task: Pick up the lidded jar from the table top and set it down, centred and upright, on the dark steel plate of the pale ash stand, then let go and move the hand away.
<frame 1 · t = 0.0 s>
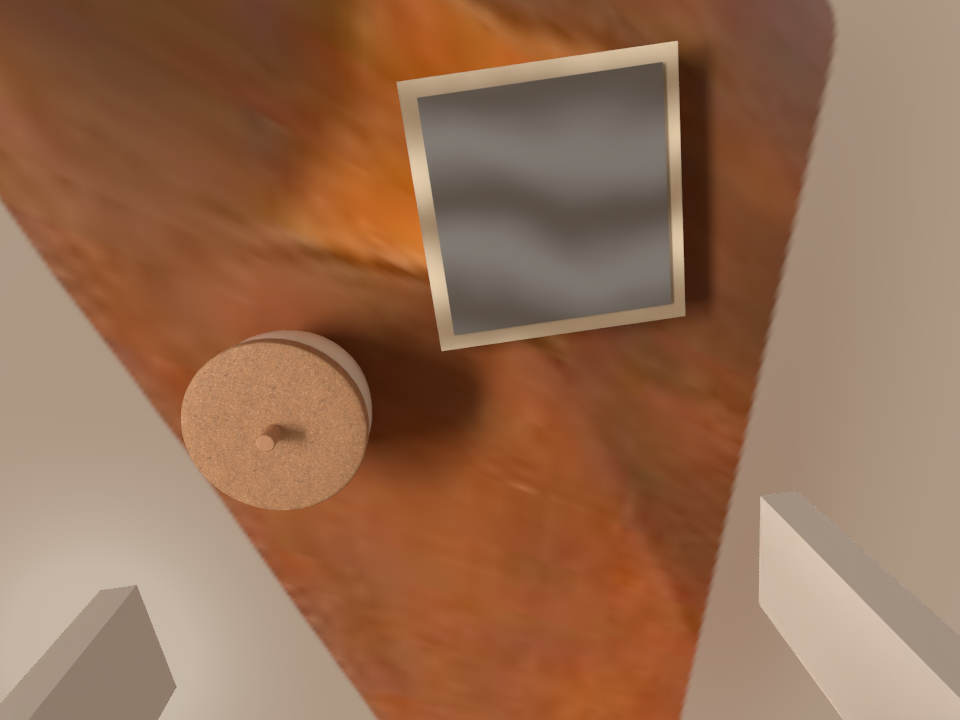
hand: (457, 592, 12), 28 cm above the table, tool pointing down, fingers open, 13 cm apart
lidded jar: (309, 384, 40), on the table
stand: (543, 205, 37), on the table
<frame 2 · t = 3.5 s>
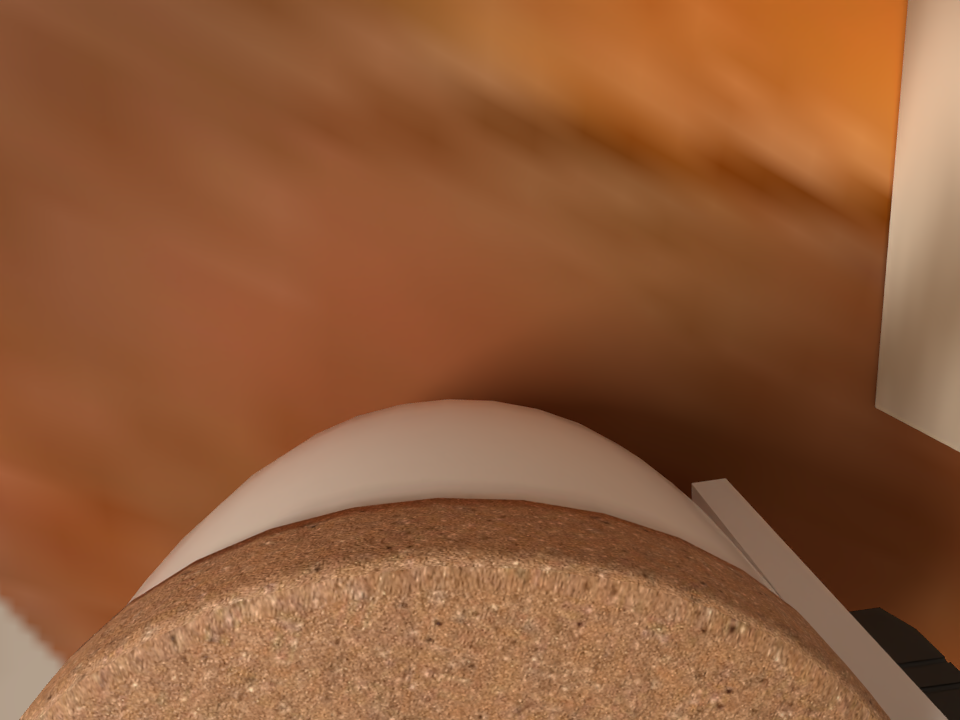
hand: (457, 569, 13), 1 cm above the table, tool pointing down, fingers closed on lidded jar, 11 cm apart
lidded jar: (458, 537, 14), on the table, touching gripper
when the fingers open (6 cm above the table, at t = 10.3 s): lidded jar drops 2 cm, resting on stand.
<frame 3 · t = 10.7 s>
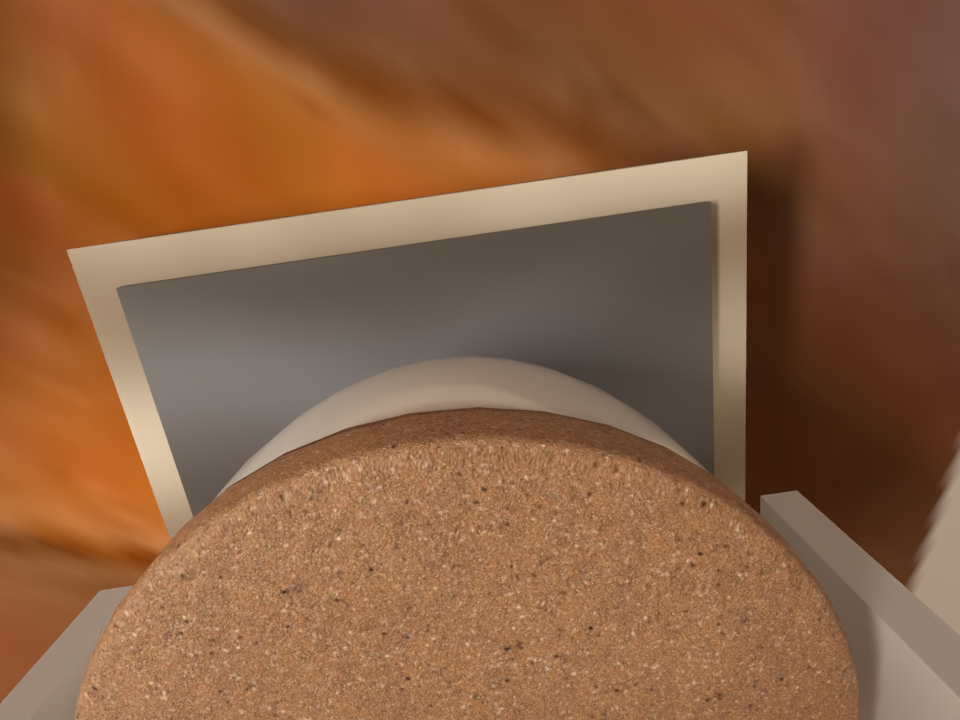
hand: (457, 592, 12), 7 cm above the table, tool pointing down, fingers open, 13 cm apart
lidded jar: (465, 494, 15), point 3 cm above the table, touching stand
stand: (457, 450, 18), on the table
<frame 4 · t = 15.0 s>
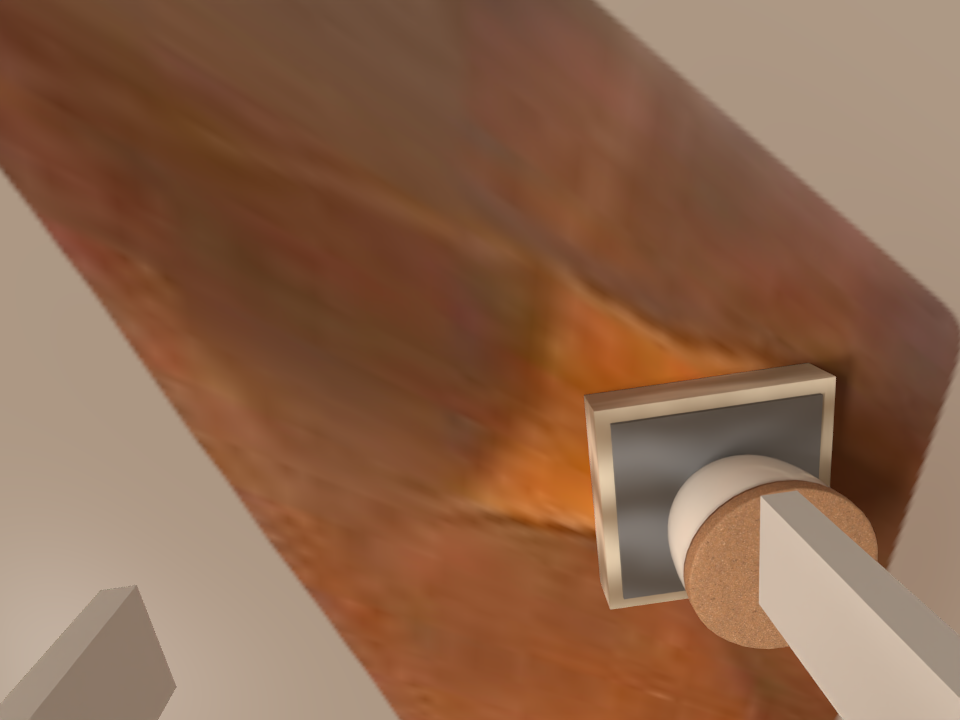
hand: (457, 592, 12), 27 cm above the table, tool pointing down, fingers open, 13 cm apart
lidded jar: (720, 498, 39), point 3 cm above the table, touching stand
stand: (698, 478, 42), on the table
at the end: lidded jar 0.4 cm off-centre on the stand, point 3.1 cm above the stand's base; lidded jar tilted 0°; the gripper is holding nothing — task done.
